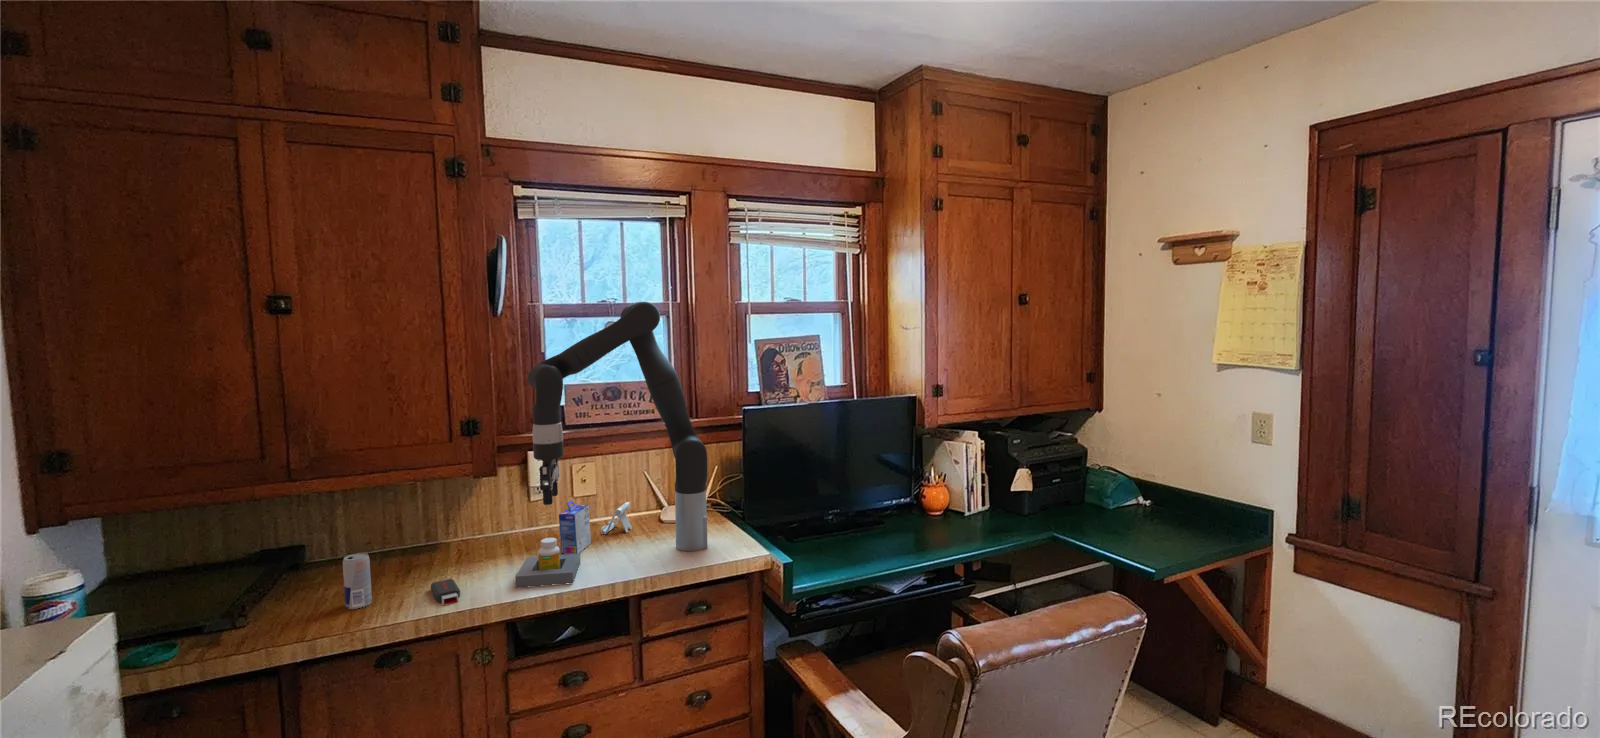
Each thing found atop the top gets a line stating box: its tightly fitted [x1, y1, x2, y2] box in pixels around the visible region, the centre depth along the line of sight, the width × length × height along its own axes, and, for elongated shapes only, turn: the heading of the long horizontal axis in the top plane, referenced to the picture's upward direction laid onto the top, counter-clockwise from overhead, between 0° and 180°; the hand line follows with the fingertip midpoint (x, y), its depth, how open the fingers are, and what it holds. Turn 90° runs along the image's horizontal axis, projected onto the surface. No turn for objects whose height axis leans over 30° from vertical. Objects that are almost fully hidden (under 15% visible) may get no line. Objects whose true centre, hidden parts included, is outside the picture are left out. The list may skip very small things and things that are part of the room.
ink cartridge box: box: [558, 499, 592, 555], centre depth 197 cm, size 10×6×14 cm, turn 174°
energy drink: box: [342, 552, 373, 610], centre depth 159 cm, size 5×5×12 cm
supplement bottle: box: [537, 537, 561, 570], centre depth 177 cm, size 5×5×10 cm
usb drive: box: [430, 578, 461, 606], centre depth 165 cm, size 5×12×3 cm, turn 37°
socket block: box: [515, 553, 581, 589], centre depth 177 cm, size 14×14×3 cm
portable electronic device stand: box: [600, 501, 633, 535], centre depth 214 cm, size 9×8×8 cm
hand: (550, 499), depth 177 cm, fingers open, 8 cm apart
